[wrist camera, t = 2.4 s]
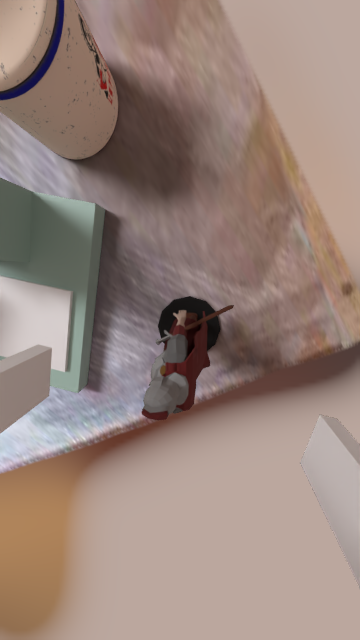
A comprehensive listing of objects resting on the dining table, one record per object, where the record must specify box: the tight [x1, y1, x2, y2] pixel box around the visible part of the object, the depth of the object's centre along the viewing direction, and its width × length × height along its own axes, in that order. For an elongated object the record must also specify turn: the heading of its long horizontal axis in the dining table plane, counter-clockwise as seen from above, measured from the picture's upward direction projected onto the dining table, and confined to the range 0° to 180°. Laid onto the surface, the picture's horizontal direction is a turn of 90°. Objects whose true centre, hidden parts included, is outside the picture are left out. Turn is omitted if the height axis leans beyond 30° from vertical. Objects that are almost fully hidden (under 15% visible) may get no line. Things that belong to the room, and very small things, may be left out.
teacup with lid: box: [0, 0, 118, 159], centre depth 15 cm, size 12×9×12 cm
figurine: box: [142, 296, 234, 420], centre depth 16 cm, size 7×7×15 cm
